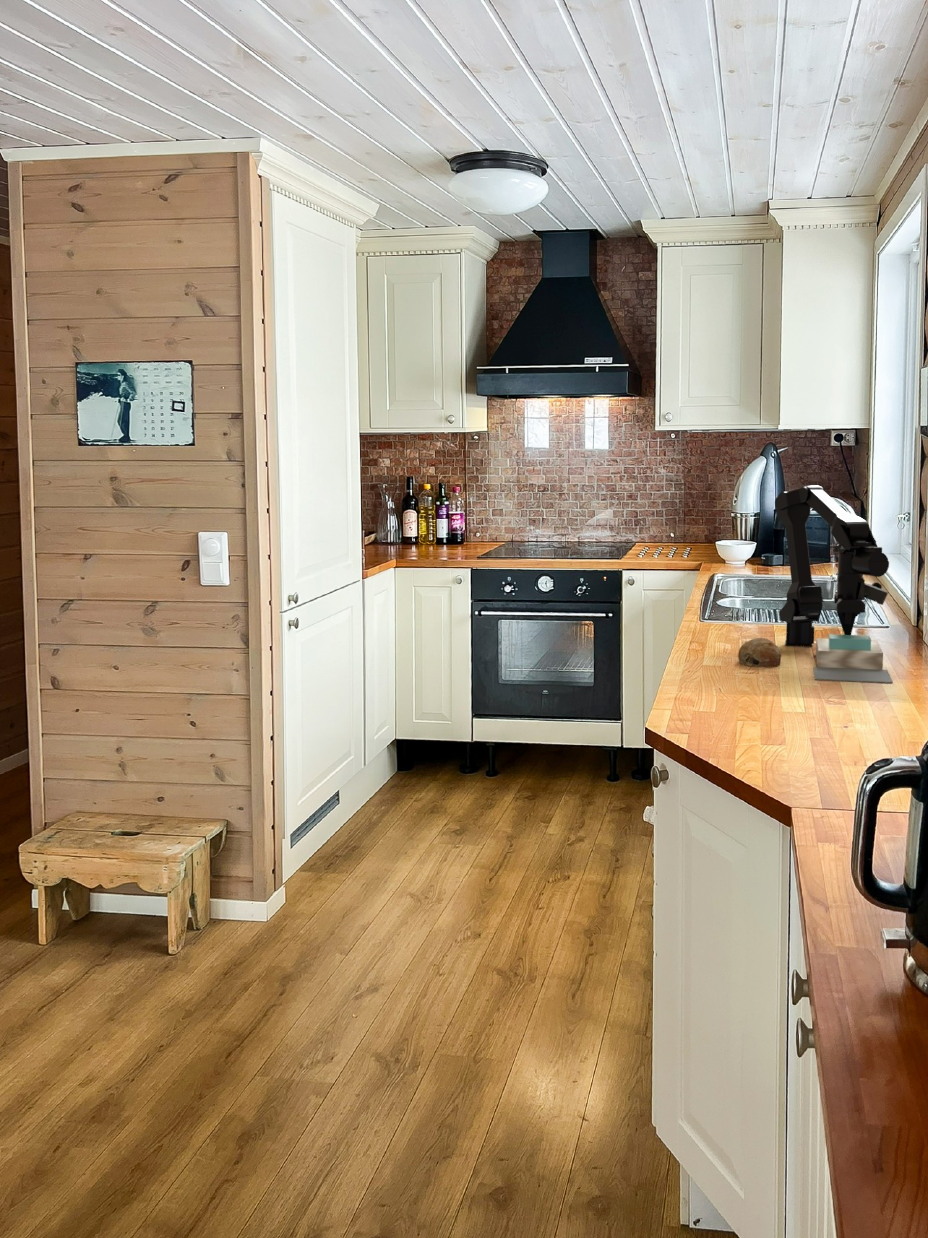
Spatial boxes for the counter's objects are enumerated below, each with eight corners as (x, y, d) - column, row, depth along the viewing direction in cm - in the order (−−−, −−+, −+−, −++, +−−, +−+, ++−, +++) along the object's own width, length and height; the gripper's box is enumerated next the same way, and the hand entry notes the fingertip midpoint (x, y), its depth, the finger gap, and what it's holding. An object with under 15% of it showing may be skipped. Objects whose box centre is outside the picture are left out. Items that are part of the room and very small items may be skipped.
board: (817, 668, 265) (818, 650, 265) (815, 654, 283) (816, 638, 282) (882, 670, 262) (883, 653, 261) (876, 656, 279) (877, 640, 278)
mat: (814, 680, 252) (814, 678, 252) (813, 668, 265) (813, 666, 265) (892, 683, 248) (892, 682, 248) (887, 671, 261) (887, 669, 261)
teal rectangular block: (829, 649, 267) (829, 638, 267) (828, 644, 273) (829, 634, 272) (870, 650, 265) (871, 639, 264) (868, 646, 270) (869, 635, 270)
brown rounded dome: (734, 679, 272) (731, 651, 268) (745, 654, 279) (742, 627, 275) (777, 683, 267) (774, 654, 263) (786, 657, 275) (784, 629, 271)
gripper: (889, 577, 263) (886, 645, 266) (883, 569, 281) (880, 632, 283) (838, 576, 266) (835, 643, 269) (835, 568, 284) (832, 631, 286)
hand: (847, 637), depth 277 cm, fingers closed
